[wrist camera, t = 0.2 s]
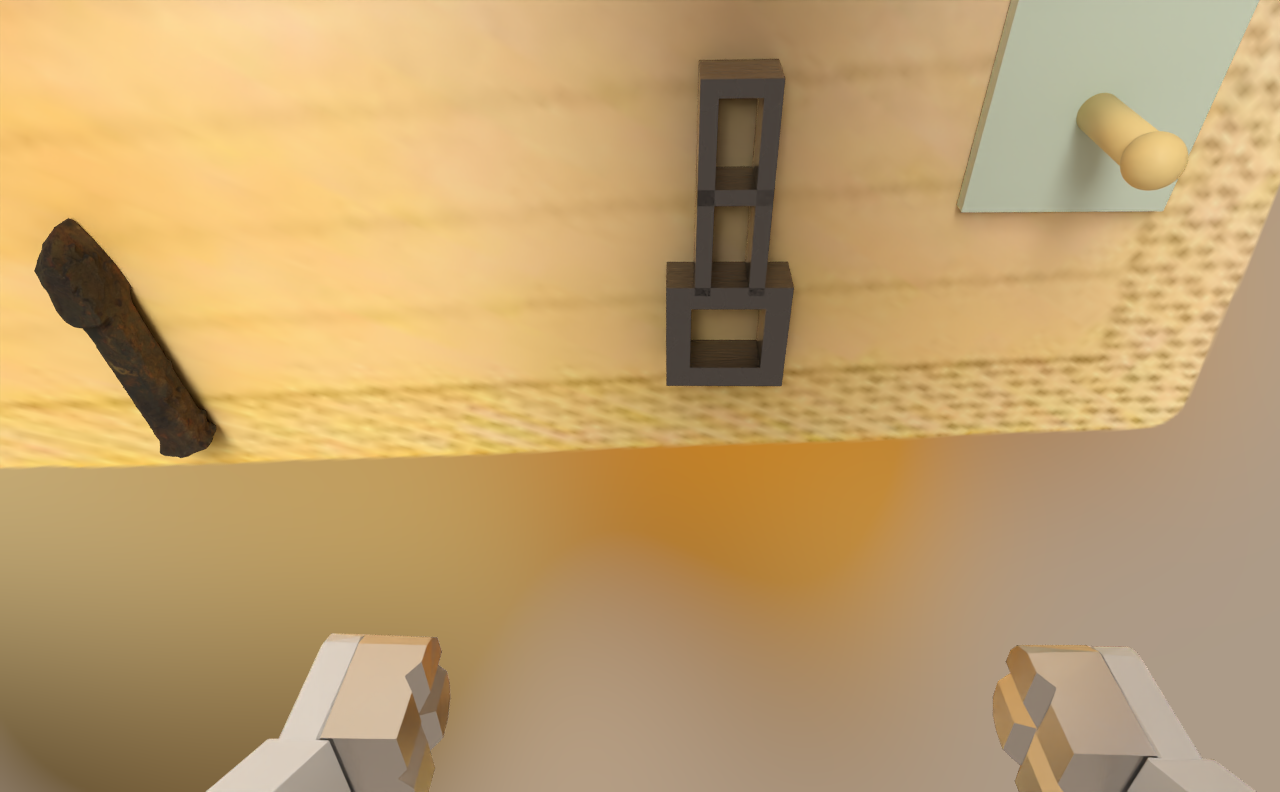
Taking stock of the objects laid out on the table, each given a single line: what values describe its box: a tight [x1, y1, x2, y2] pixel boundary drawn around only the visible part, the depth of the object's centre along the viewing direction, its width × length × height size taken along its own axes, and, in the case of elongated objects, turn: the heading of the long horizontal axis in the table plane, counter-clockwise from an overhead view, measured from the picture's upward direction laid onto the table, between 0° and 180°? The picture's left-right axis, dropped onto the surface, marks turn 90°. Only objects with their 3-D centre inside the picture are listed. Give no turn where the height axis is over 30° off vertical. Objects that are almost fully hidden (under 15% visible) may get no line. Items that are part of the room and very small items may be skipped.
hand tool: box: [35, 218, 216, 458], centre depth 55 cm, size 19×4×5 cm, turn 2°
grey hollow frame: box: [666, 59, 794, 386], centre depth 48 cm, size 21×8×3 cm, turn 1°
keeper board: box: [957, 0, 1259, 212], centre depth 36 cm, size 23×12×9 cm, turn 1°
